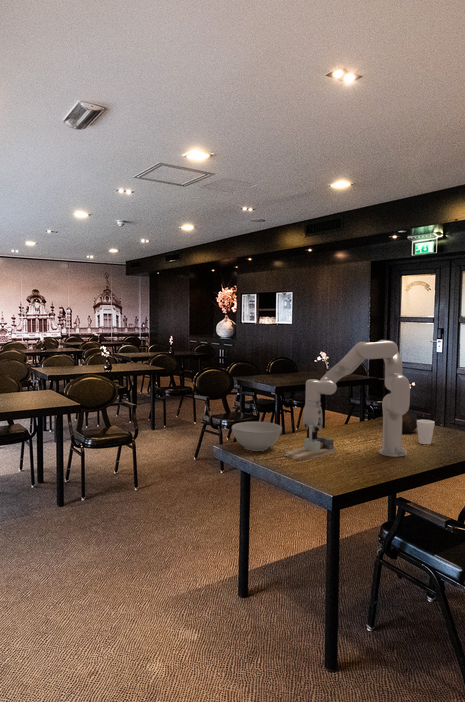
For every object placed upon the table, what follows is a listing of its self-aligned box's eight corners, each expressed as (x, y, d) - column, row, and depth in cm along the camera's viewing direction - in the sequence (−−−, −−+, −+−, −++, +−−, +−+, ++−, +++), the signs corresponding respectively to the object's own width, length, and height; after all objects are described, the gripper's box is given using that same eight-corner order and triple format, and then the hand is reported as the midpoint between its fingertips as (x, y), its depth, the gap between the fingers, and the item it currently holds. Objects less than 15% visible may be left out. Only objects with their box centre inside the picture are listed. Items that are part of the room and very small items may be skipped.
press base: (335, 452, 259) (335, 439, 259) (299, 460, 244) (300, 447, 243) (318, 448, 269) (318, 435, 269) (283, 455, 253) (283, 442, 253)
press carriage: (320, 451, 255) (321, 421, 254) (315, 452, 252) (316, 422, 251) (308, 447, 262) (308, 419, 261) (302, 448, 260) (303, 419, 259)
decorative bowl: (270, 441, 283) (271, 420, 282) (289, 453, 257) (289, 430, 256) (225, 444, 275) (225, 422, 274) (239, 457, 249) (240, 433, 249)
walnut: (324, 448, 260) (324, 443, 260) (319, 449, 258) (319, 443, 258) (319, 447, 263) (319, 441, 263) (314, 448, 261) (314, 442, 261)
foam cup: (434, 446, 275) (435, 423, 274) (416, 445, 278) (417, 422, 277) (433, 442, 284) (433, 420, 283) (415, 441, 287) (416, 419, 286)
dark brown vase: (418, 435, 301) (420, 390, 299) (387, 433, 306) (389, 388, 304) (416, 429, 318) (418, 386, 316) (387, 427, 323) (389, 385, 321)
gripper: (329, 405, 251) (328, 440, 252) (306, 400, 264) (305, 434, 266) (319, 406, 247) (318, 442, 248) (296, 401, 260) (295, 436, 261)
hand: (311, 438), depth 257 cm, fingers closed on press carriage, 3 cm apart
